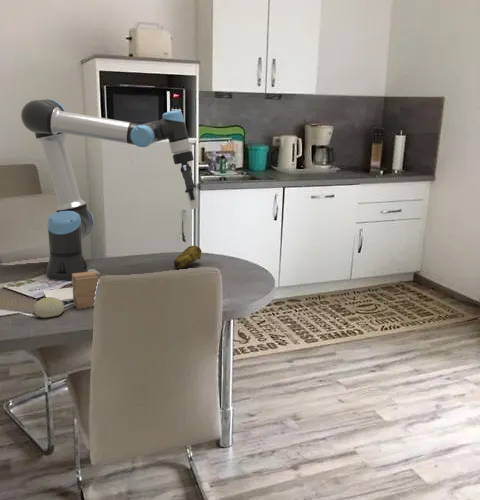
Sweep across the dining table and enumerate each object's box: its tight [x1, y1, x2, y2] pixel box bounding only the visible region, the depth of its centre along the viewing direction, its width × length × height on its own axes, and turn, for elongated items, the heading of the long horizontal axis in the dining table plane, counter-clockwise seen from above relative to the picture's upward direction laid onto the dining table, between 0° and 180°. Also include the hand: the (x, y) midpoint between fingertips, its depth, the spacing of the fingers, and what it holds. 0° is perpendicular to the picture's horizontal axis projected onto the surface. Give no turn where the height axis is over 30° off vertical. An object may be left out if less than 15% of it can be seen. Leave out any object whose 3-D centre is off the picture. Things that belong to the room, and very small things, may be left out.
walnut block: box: [71, 270, 99, 310], centre depth 185 cm, size 7×7×10 cm
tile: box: [43, 286, 73, 301], centre depth 191 cm, size 11×11×1 cm
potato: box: [173, 245, 202, 269], centre depth 227 cm, size 8×13×8 cm, turn 120°
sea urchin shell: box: [32, 297, 65, 318], centre depth 177 cm, size 9×8×8 cm
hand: (195, 206), depth 218 cm, fingers open, 13 cm apart
